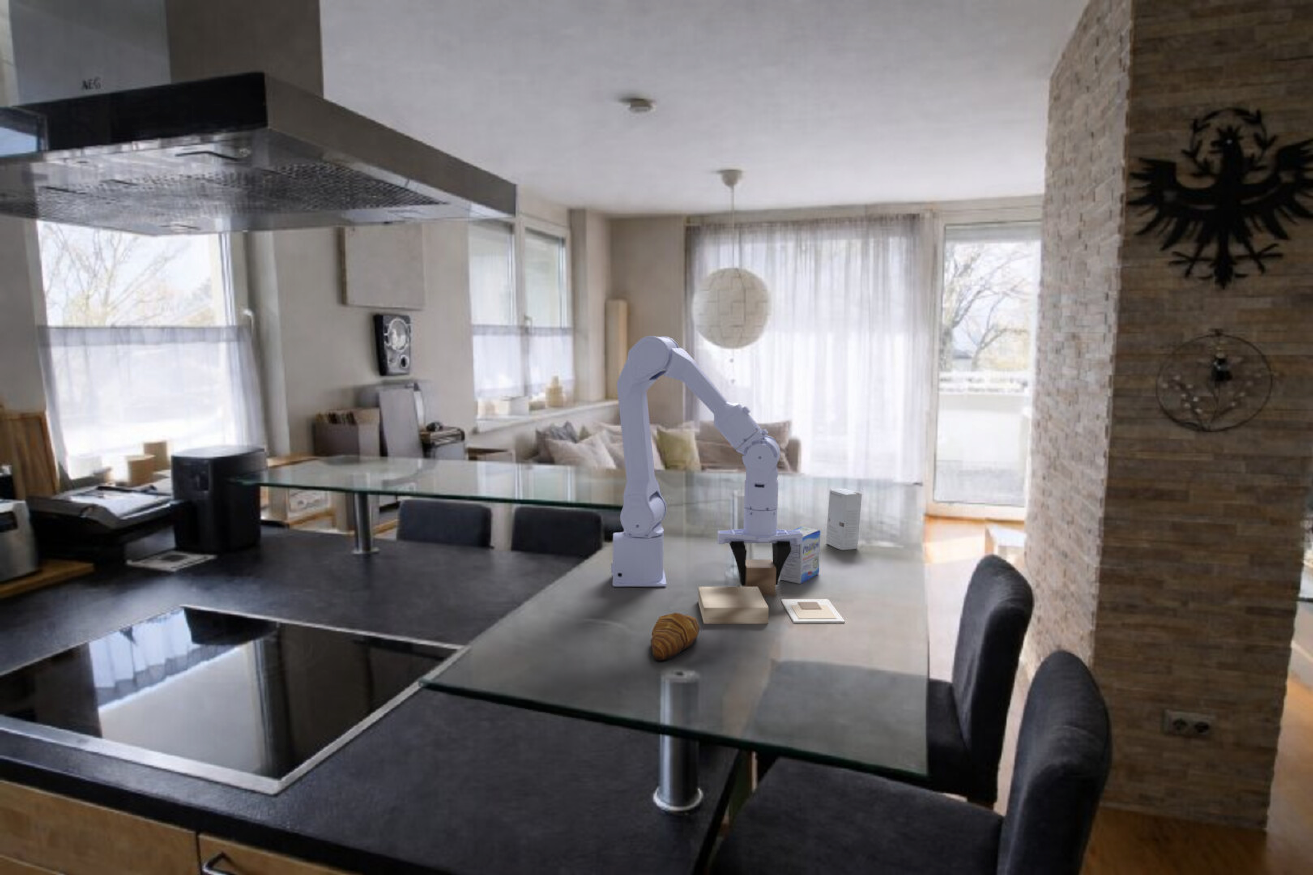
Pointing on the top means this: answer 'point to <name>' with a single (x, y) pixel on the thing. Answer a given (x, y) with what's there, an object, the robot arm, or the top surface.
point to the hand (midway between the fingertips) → (758, 583)
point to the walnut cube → (761, 575)
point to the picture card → (812, 611)
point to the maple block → (732, 605)
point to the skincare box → (843, 518)
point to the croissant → (673, 635)
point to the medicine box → (803, 558)
